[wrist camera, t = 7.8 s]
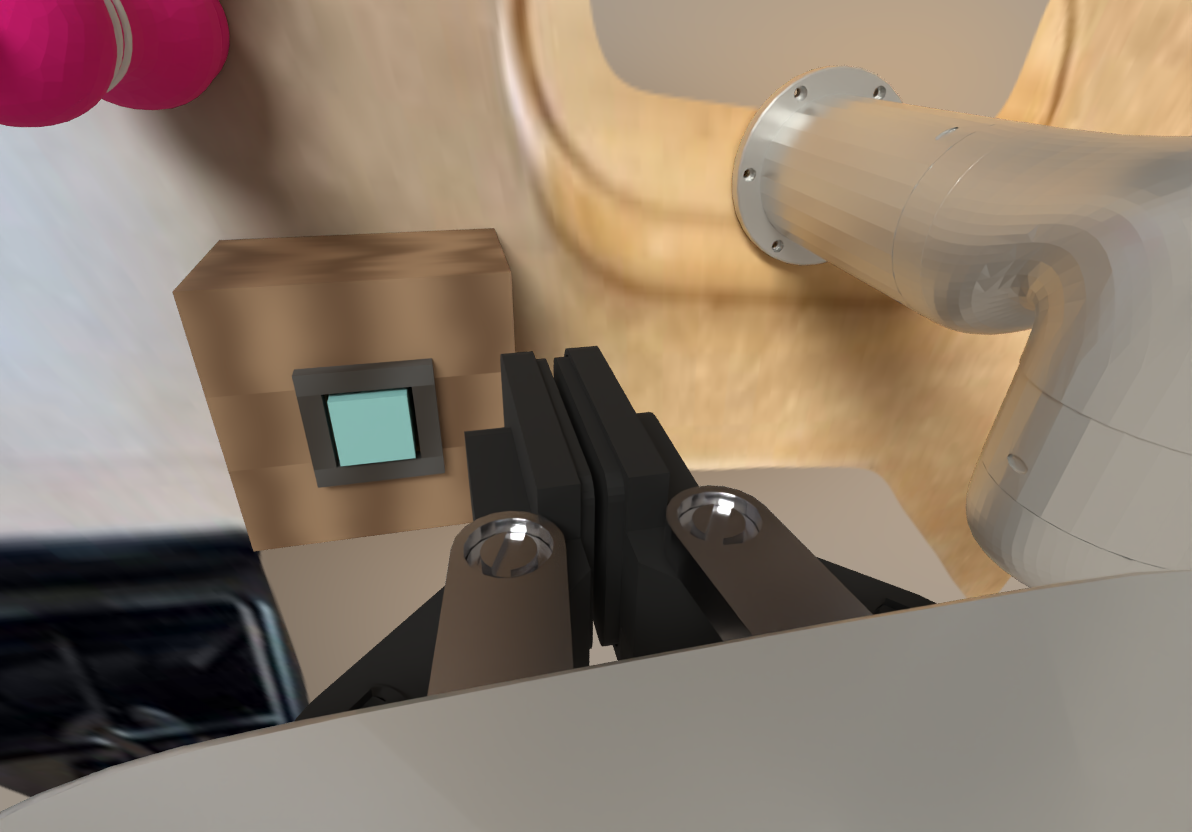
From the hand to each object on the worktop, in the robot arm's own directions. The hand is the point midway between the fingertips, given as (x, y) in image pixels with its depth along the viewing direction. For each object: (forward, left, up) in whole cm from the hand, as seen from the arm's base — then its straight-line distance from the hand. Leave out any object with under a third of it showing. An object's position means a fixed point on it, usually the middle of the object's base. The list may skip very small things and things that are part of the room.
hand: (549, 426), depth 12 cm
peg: (+6, +13, -33) cm, 36 cm away
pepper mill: (+14, -6, -33) cm, 37 cm away
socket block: (+6, +13, -33) cm, 36 cm away
